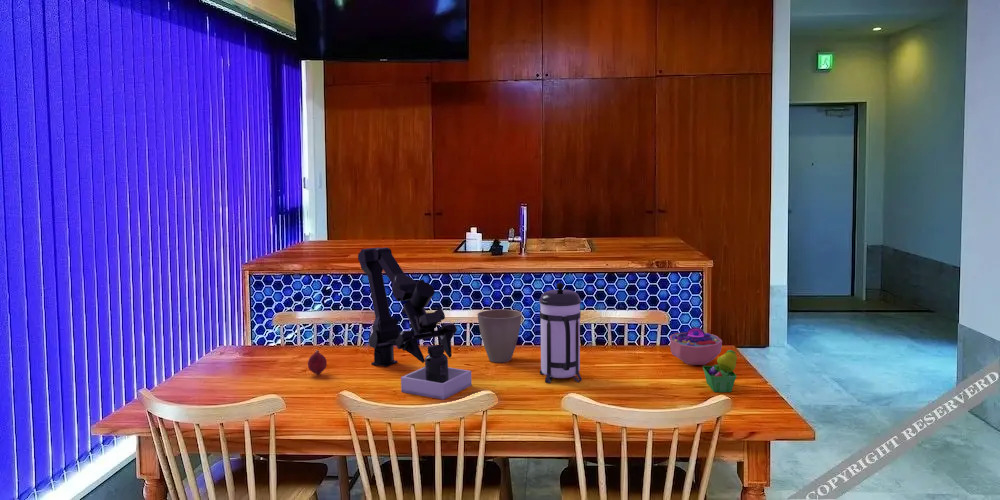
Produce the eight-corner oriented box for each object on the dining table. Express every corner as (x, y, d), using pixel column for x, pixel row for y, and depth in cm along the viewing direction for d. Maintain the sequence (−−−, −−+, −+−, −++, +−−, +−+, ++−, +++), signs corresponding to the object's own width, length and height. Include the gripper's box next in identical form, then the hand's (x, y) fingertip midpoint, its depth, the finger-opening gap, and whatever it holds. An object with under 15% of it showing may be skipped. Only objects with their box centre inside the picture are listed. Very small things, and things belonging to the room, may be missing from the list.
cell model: (663, 368, 246) (664, 334, 244) (674, 353, 264) (674, 321, 263) (718, 374, 239) (718, 338, 238) (724, 357, 258) (725, 324, 256)
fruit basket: (701, 381, 232) (702, 345, 230) (730, 381, 231) (731, 345, 230) (710, 393, 220) (711, 355, 219) (741, 393, 220) (742, 355, 219)
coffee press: (524, 379, 236) (523, 283, 233) (556, 368, 248) (556, 276, 244) (568, 390, 225) (568, 290, 221) (600, 378, 236) (600, 282, 232)
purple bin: (430, 378, 239) (430, 364, 238) (471, 385, 231) (471, 370, 231) (401, 391, 226) (400, 377, 225) (443, 399, 218) (443, 384, 218)
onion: (322, 377, 241) (321, 353, 240) (305, 377, 242) (304, 352, 241) (330, 372, 247) (328, 348, 246) (313, 371, 248) (312, 347, 247)
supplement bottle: (446, 381, 233) (445, 342, 231) (450, 387, 226) (449, 348, 225) (423, 383, 231) (422, 344, 230) (427, 390, 225) (426, 350, 223)
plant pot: (531, 360, 257) (530, 314, 255) (494, 368, 249) (493, 320, 247) (505, 351, 269) (505, 307, 267) (469, 358, 261) (468, 312, 259)
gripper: (399, 305, 223) (418, 349, 216) (453, 297, 234) (473, 339, 227) (387, 326, 231) (406, 370, 223) (440, 318, 242) (460, 359, 234)
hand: (437, 359), depth 227 cm, fingers open, 9 cm apart
